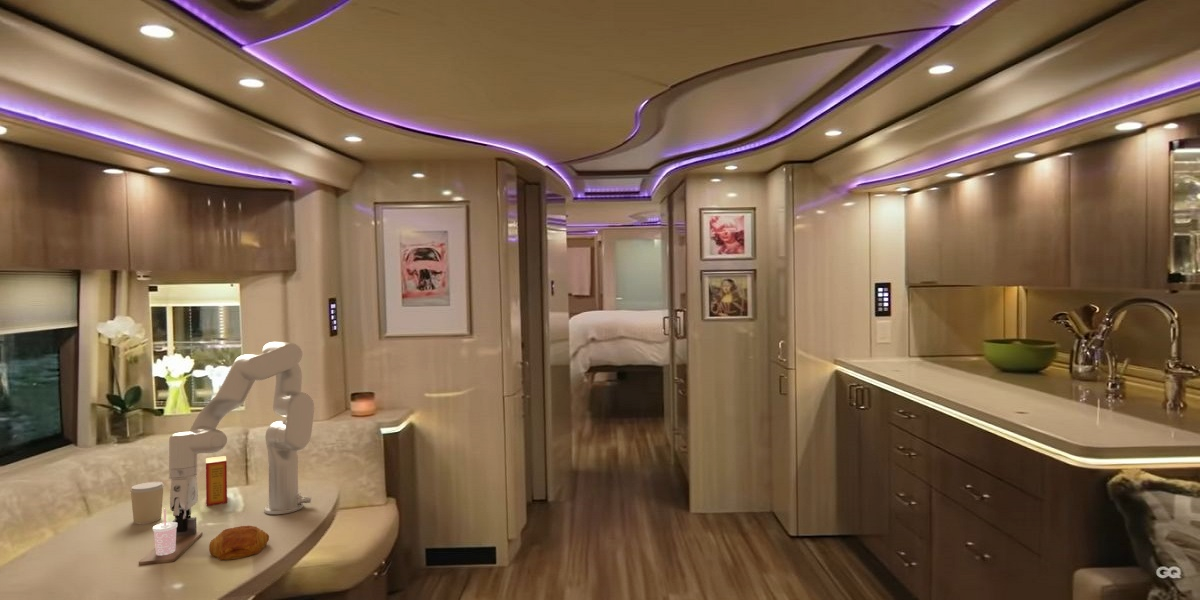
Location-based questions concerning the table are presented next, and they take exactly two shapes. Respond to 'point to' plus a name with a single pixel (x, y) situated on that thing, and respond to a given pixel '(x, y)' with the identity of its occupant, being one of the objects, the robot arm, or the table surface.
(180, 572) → the table surface
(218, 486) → the baking soda box
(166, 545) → the beverage cup
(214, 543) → the croissant
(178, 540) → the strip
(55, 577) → the table surface
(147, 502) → the coffee cup
